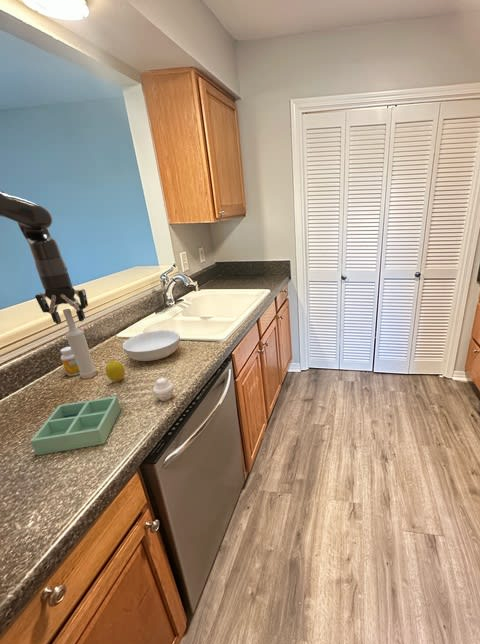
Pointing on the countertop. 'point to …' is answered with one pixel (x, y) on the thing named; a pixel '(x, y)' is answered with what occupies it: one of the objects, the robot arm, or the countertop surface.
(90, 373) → the bottle
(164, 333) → the serving bowl
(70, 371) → the supplement bottle
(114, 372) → the lemon
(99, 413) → the compartment tray
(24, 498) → the countertop surface
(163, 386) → the muffin
